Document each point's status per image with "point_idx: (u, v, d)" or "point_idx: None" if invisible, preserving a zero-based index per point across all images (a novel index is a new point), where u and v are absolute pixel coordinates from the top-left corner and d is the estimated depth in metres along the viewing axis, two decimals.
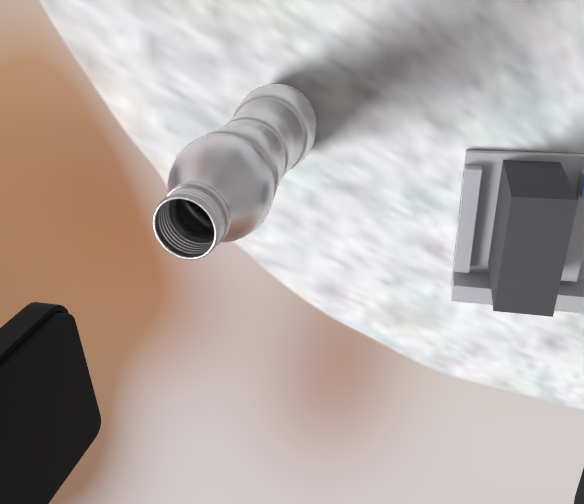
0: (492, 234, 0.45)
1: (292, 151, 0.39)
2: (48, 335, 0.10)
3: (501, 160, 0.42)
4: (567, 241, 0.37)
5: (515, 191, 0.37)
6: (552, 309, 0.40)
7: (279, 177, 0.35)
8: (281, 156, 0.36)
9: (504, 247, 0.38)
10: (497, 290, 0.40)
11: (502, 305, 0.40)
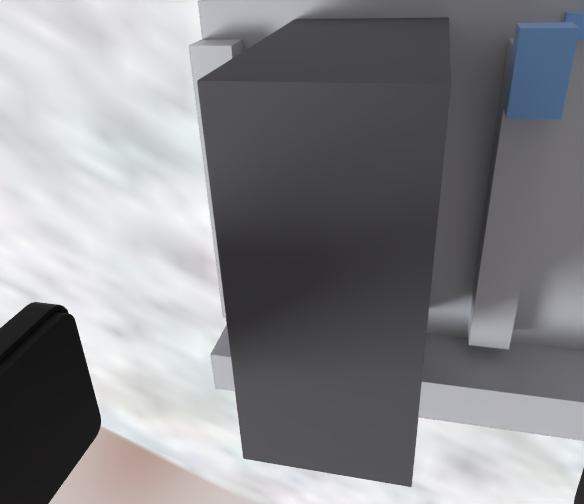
0: None
1: None
2: (48, 335, 0.10)
3: (291, 20, 0.15)
4: (427, 257, 0.10)
5: (230, 70, 0.10)
6: (407, 468, 0.12)
7: None
8: None
9: (224, 276, 0.11)
10: (239, 405, 0.13)
11: (264, 446, 0.13)
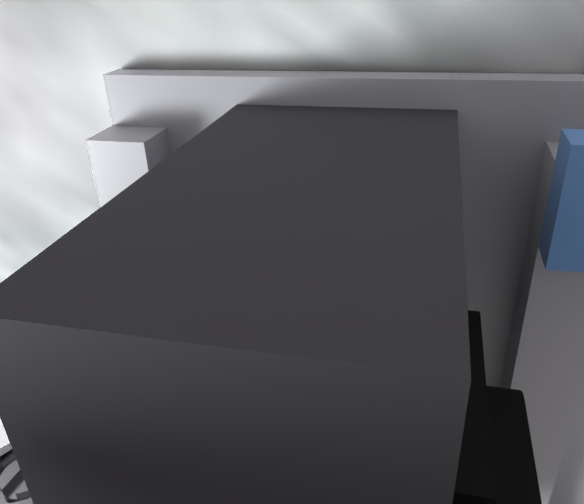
0: None
1: None
2: None
3: (231, 105, 0.11)
4: None
5: (54, 267, 0.05)
6: None
7: None
8: None
9: None
10: None
11: None
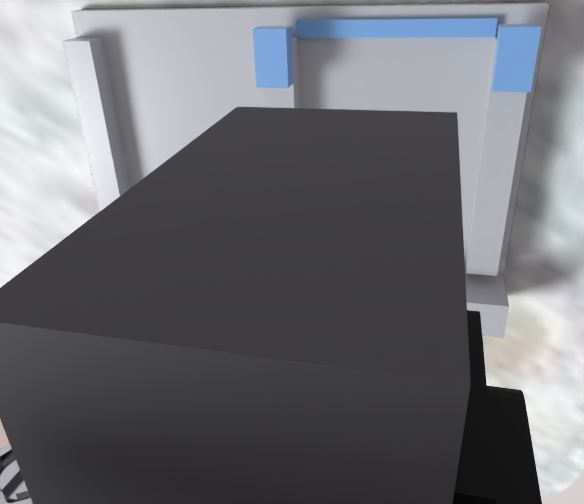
0: None
1: None
2: None
3: (131, 25, 0.22)
4: None
5: (53, 270, 0.05)
6: None
7: None
8: None
9: None
10: None
11: None
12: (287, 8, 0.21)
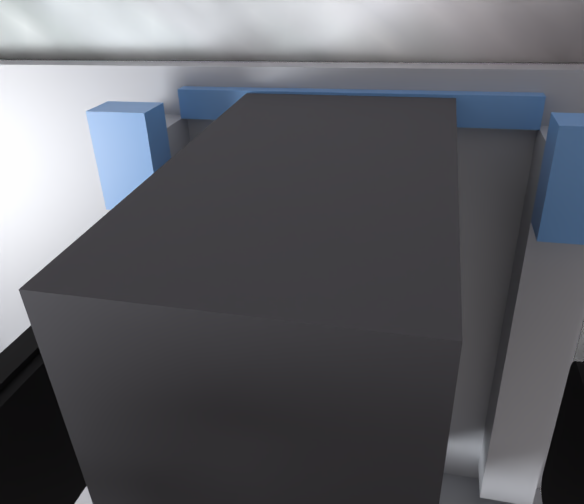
0: None
1: None
2: None
3: None
4: None
5: (94, 248, 0.06)
6: None
7: None
8: None
9: None
10: None
11: None
12: (164, 66, 0.12)
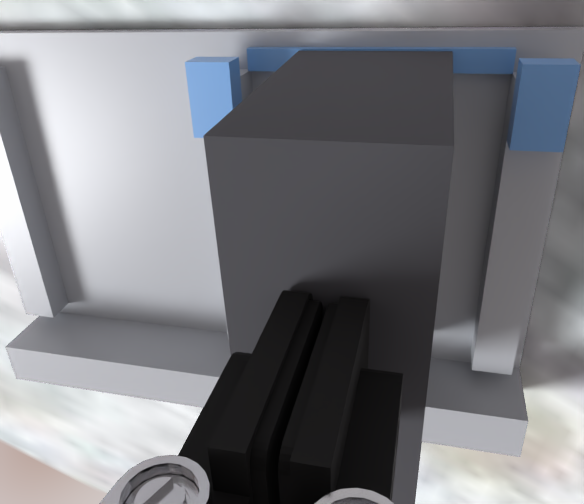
0: None
1: None
2: (314, 322, 0.10)
3: (39, 51, 0.17)
4: (429, 307, 0.10)
5: (236, 120, 0.10)
6: (409, 502, 0.13)
7: None
8: None
9: (229, 318, 0.11)
10: None
11: None
12: (236, 32, 0.16)
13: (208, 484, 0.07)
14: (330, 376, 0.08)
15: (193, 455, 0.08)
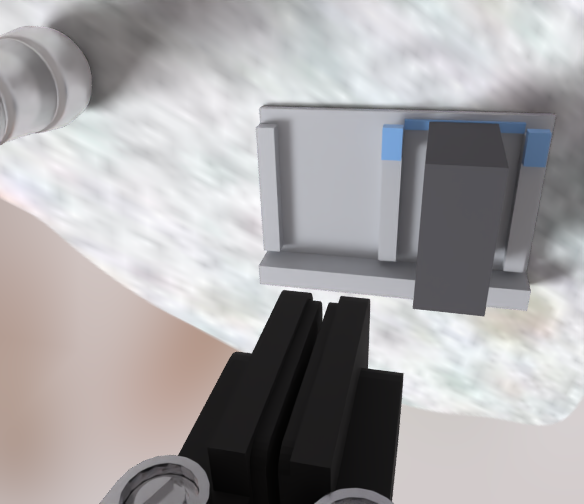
0: None
1: (27, 99, 0.33)
2: (314, 322, 0.10)
3: (298, 117, 0.36)
4: (497, 222, 0.29)
5: (431, 158, 0.29)
6: (483, 307, 0.32)
7: None
8: None
9: (420, 229, 0.30)
10: (415, 283, 0.32)
11: (423, 302, 0.32)
12: (399, 112, 0.35)
13: (208, 484, 0.07)
14: (330, 376, 0.08)
15: (193, 455, 0.08)
